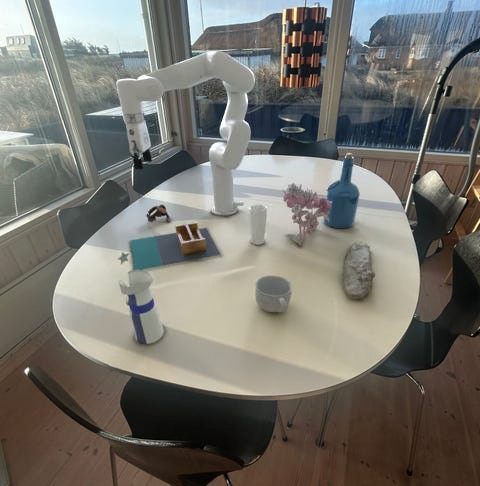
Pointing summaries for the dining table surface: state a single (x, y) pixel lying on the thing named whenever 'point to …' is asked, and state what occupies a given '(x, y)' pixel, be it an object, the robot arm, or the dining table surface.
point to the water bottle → (142, 305)
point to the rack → (190, 239)
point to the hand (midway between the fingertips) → (143, 165)
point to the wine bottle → (343, 197)
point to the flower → (305, 199)
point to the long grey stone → (358, 271)
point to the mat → (166, 251)
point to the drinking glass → (257, 223)
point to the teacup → (273, 293)
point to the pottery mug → (158, 213)
